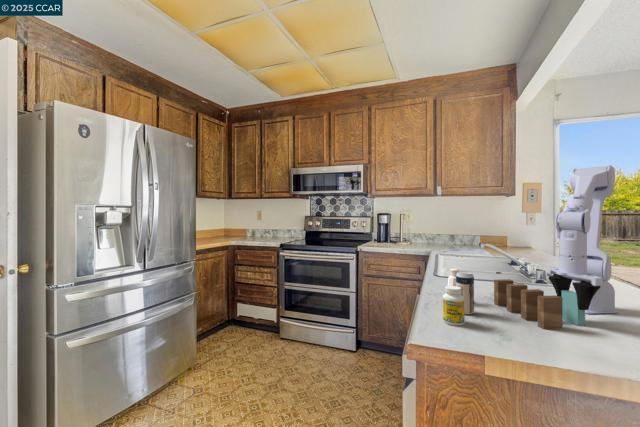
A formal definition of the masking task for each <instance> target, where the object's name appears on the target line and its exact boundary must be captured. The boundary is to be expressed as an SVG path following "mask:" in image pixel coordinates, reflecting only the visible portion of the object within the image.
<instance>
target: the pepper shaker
mask: <svg viewBox="0 0 640 427" xmlns="http://www.w3.org/2000/svg"><path fill="white" fill-rule="evenodd" d="M449 271H450V273H449V274H450V275H449V276H448V278H447V286H456V274H457V272H459V271H460V269H458V268H450V269H449Z"/></svg>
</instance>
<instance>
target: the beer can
mask: <svg viewBox="0 0 640 427" xmlns="http://www.w3.org/2000/svg"><path fill="white" fill-rule="evenodd" d="M456 286H457V287H460V288H461V294H460V295H462V296H463V297H464V316H465V315H466V316H470V315H472V314H475V276H474V274H473V273H472V272H471V271H470V272H469V271H462V270H461V271H460V270H459V272H457V274H456Z"/></svg>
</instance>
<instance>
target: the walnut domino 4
mask: <svg viewBox="0 0 640 427" xmlns="http://www.w3.org/2000/svg"><path fill="white" fill-rule="evenodd" d="M563 321H564V320H563V298H562V297H559V296H557V294H556V295H555V294H554V295H544V296H538V320H537V327H539V328H540V329H542V330H563V324H564V323H563Z"/></svg>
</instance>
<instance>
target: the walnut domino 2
mask: <svg viewBox="0 0 640 427" xmlns="http://www.w3.org/2000/svg"><path fill="white" fill-rule="evenodd" d="M521 290H529V289H528V285H526V284H525V283H524V284H523V283H513V284H507V306H506V311H507V312H509V313H511V314H519V313H520V314H521Z"/></svg>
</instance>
